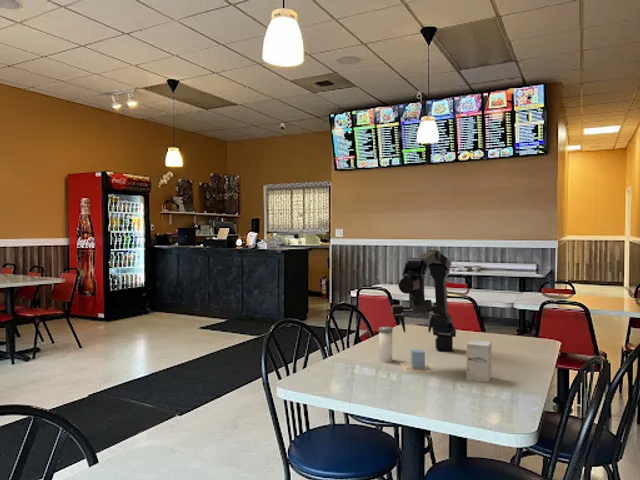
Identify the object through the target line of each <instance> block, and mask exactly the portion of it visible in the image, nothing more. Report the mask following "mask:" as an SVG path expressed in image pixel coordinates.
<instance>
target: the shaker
mask: <svg viewBox="0 0 640 480" xmlns="http://www.w3.org/2000/svg"><path fill="white" fill-rule="evenodd" d="M393 329H394V328H393V327H391V326H380V327H378V345H379V346H378V354H379V355H378V360H379V362H383V363H391V362H393V331H394V330H393Z"/></svg>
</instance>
